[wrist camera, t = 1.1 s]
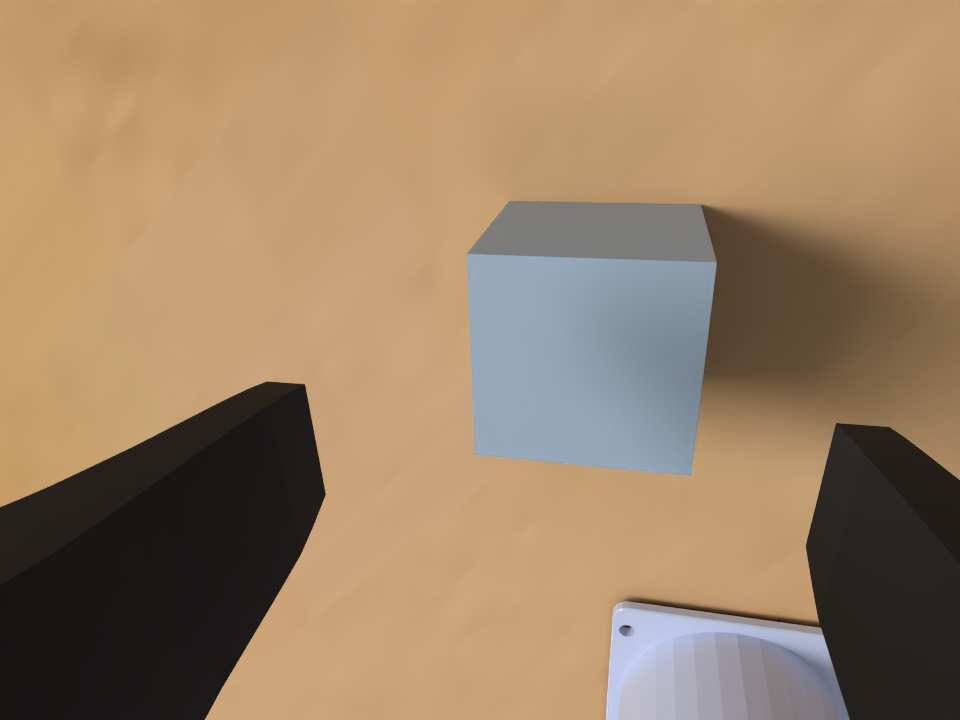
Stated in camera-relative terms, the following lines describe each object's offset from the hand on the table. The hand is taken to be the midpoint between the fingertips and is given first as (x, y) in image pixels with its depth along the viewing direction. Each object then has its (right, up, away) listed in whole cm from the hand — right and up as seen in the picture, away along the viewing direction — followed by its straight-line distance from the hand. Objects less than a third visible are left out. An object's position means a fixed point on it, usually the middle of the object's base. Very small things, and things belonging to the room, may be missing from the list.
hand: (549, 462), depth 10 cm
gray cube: (+2, +3, +10) cm, 11 cm away
